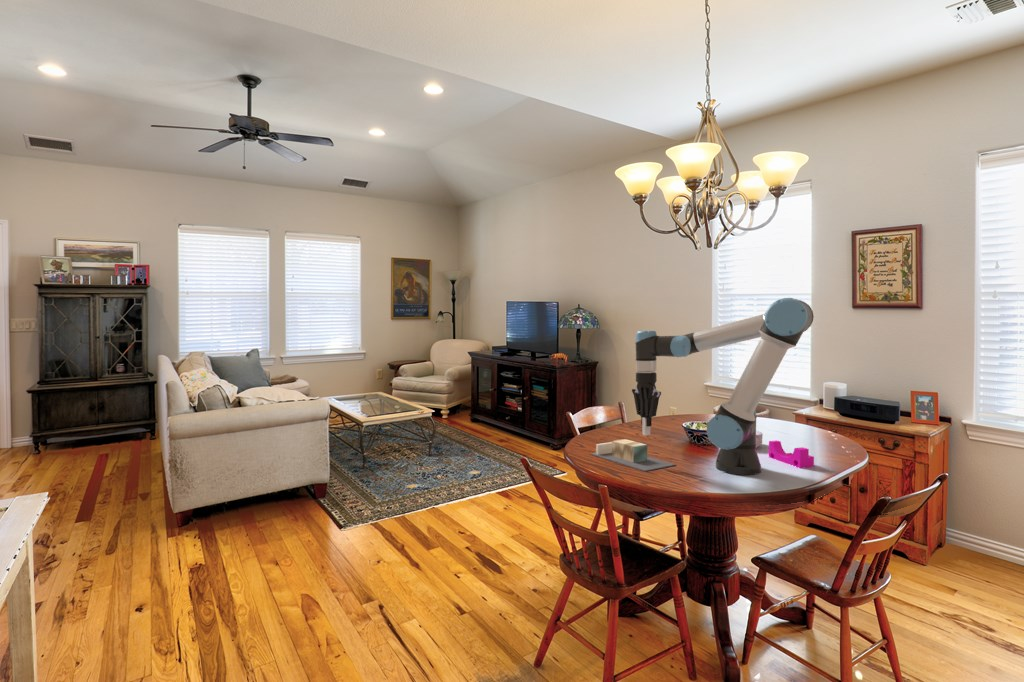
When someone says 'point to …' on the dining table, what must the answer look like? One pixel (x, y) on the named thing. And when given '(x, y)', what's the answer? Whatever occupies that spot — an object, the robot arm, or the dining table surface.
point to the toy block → (791, 455)
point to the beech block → (629, 450)
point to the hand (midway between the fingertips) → (646, 434)
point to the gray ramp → (642, 465)
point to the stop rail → (604, 448)
